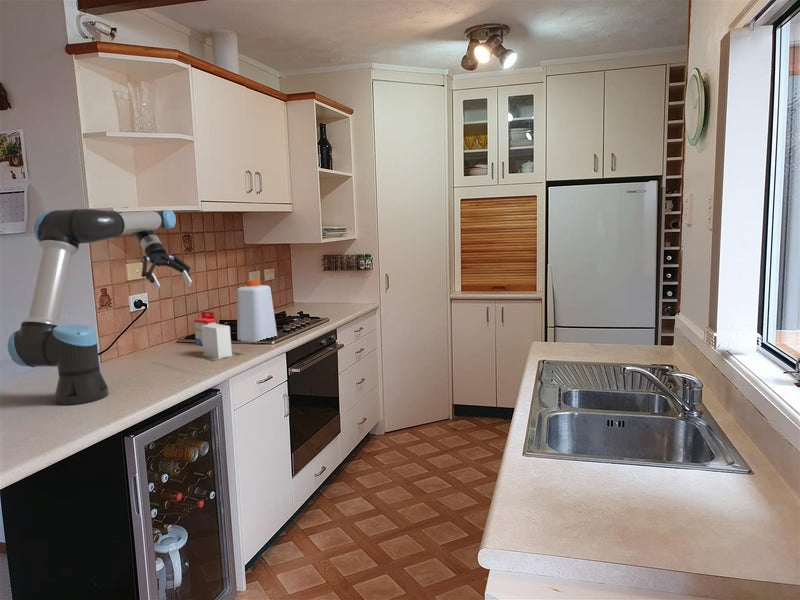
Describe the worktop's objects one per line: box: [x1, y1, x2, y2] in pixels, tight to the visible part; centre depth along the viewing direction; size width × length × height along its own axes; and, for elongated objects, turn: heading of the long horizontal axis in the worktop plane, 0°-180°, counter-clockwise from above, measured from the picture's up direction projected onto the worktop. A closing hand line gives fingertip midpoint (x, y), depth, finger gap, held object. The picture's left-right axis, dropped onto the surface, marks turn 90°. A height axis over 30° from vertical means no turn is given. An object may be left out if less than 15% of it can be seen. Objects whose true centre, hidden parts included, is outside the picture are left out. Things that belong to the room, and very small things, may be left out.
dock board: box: [192, 351, 244, 362], centre depth 239 cm, size 14×16×1 cm
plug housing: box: [201, 323, 233, 358], centre depth 238 cm, size 6×11×12 cm, turn 49°
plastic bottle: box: [236, 279, 278, 342], centre depth 267 cm, size 15×15×28 cm
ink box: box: [193, 311, 216, 346], centre depth 266 cm, size 8×5×15 cm, turn 62°
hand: (174, 285), depth 238 cm, fingers open, 13 cm apart
